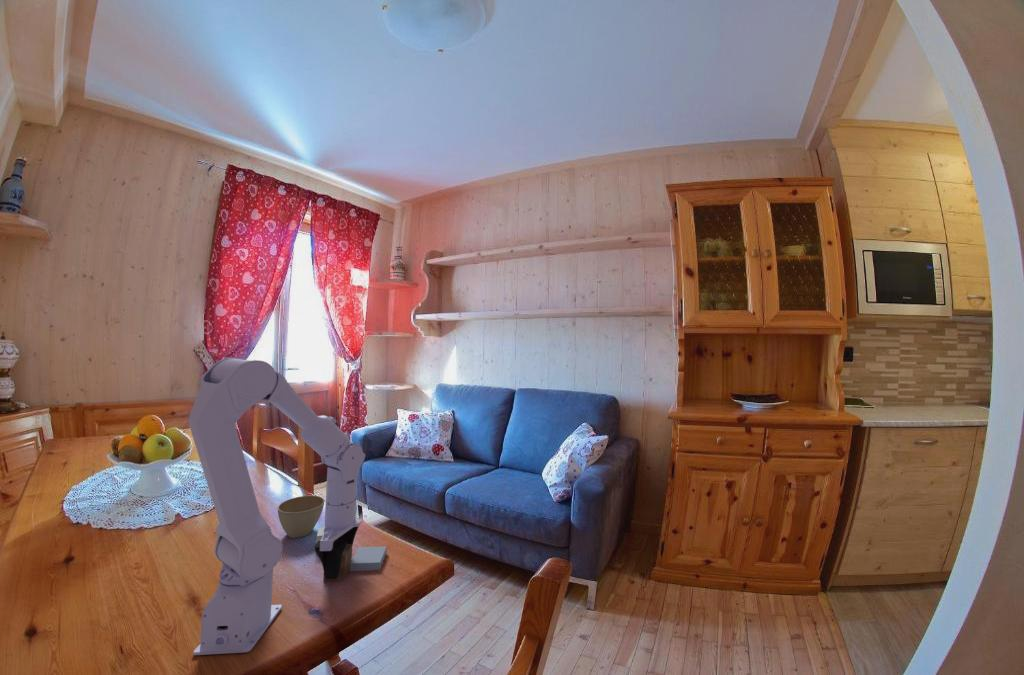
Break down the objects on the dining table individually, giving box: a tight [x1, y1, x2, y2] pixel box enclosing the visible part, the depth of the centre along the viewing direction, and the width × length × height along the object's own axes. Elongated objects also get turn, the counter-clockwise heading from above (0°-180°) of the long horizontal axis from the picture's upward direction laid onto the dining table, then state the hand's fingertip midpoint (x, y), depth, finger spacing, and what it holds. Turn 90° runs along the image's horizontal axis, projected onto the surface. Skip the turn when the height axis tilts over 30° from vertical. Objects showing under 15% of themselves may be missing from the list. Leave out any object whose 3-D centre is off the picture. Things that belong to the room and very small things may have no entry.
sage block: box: [315, 526, 323, 555], centre depth 82 cm, size 4×4×4 cm
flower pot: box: [277, 495, 326, 539], centre depth 88 cm, size 10×10×7 cm
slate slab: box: [349, 546, 388, 572], centre depth 77 cm, size 6×6×2 cm
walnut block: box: [323, 544, 353, 582], centre depth 72 cm, size 4×4×5 cm
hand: (338, 567), depth 72 cm, fingers open, 6 cm apart
